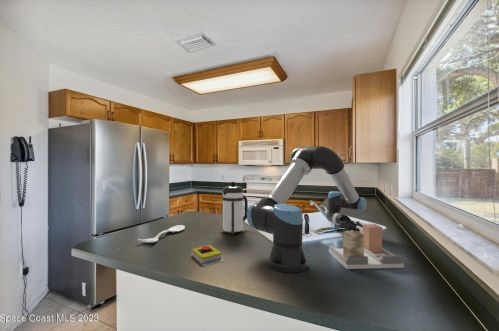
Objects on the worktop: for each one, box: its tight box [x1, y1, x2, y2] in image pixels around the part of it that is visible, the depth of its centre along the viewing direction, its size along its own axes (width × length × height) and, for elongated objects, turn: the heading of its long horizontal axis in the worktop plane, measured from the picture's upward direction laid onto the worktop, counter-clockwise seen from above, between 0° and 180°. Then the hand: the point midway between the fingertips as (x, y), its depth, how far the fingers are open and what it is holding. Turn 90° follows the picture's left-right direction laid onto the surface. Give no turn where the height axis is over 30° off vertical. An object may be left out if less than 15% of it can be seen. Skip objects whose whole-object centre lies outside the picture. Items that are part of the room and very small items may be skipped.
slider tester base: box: [328, 245, 405, 270], centre depth 97 cm, size 23×17×4 cm
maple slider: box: [342, 230, 364, 258], centre depth 91 cm, size 6×5×11 cm
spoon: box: [137, 224, 186, 244], centre depth 126 cm, size 9×32×4 cm, turn 164°
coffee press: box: [219, 181, 249, 237], centre depth 136 cm, size 17×16×30 cm
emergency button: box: [190, 245, 225, 267], centre depth 98 cm, size 9×4×15 cm
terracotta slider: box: [362, 223, 383, 252], centre depth 102 cm, size 6×5×11 cm
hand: (364, 232), depth 108 cm, fingers closed
